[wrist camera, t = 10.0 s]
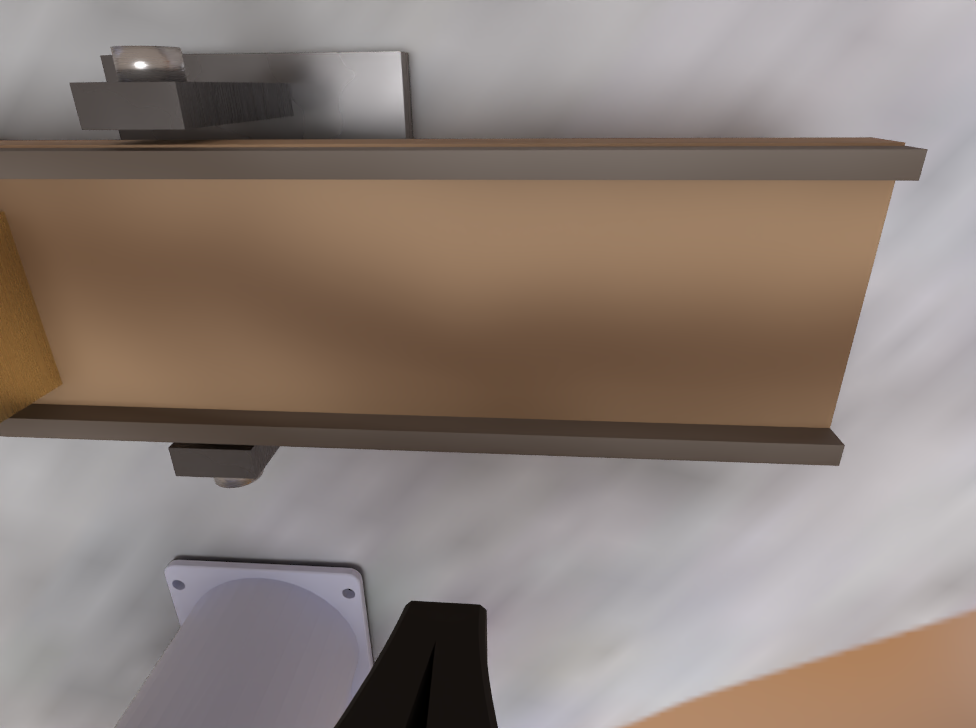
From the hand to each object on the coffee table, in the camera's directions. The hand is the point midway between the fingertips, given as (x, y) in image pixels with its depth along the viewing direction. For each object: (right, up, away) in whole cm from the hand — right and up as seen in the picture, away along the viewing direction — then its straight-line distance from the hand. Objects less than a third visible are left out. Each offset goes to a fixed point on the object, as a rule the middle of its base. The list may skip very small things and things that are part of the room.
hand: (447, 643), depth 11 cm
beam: (-6, +8, +7) cm, 13 cm away
